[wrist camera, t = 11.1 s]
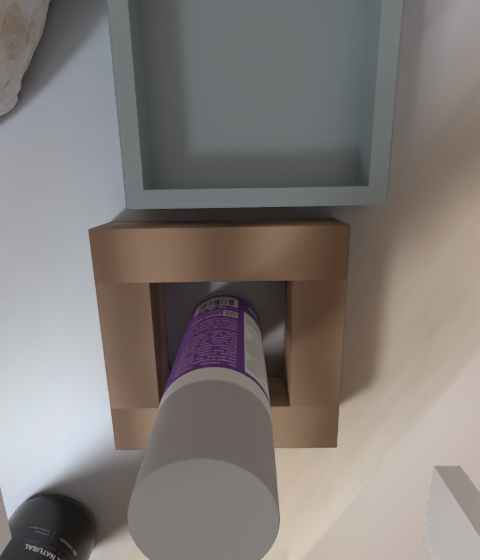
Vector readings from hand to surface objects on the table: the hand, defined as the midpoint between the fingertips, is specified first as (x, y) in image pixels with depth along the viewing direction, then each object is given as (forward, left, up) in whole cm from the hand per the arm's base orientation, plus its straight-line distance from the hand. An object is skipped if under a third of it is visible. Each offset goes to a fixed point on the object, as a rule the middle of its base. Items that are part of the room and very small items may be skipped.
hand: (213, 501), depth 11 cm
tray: (+2, +15, -14) cm, 21 cm away
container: (0, 0, -15) cm, 15 cm away
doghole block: (0, 0, -14) cm, 14 cm away
